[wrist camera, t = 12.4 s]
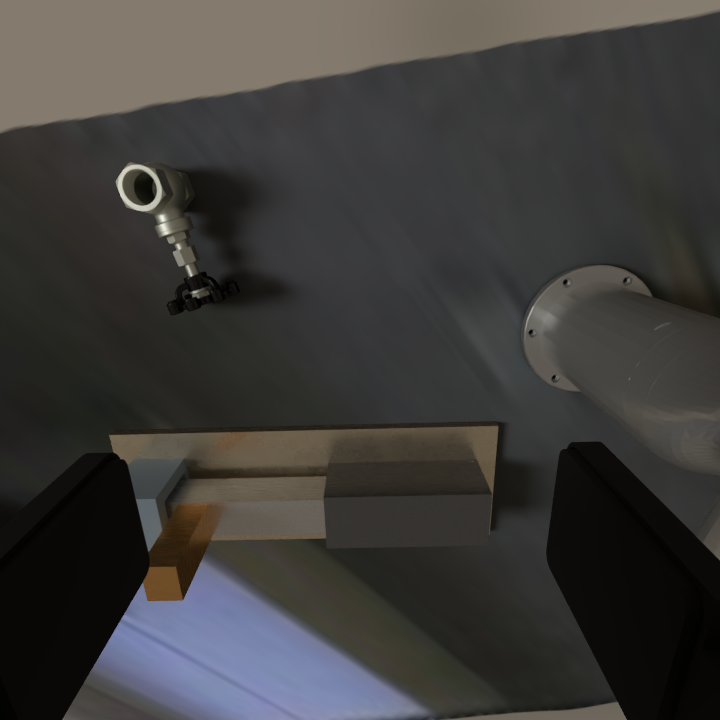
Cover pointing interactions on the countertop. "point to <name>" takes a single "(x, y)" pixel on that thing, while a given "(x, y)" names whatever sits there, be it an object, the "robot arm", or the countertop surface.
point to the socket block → (154, 491)
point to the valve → (172, 227)
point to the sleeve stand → (353, 475)
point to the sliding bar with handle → (227, 522)
